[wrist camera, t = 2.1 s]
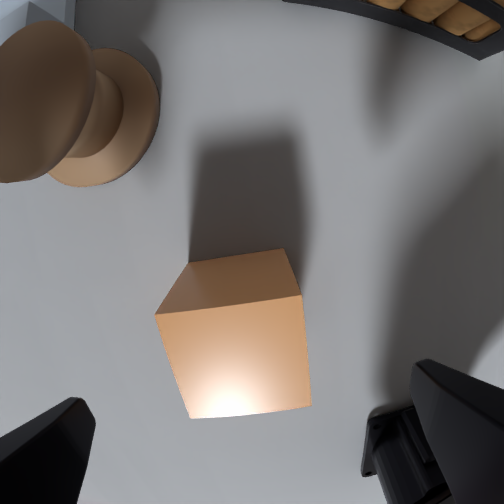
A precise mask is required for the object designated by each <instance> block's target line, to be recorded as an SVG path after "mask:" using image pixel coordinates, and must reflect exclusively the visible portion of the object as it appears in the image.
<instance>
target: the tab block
mask: <svg viewBox="0 0 504 504" xmlns="http://www.w3.org/2000/svg"><path fill="white" fill-rule="evenodd" d="M155 318H156V322H157V325H158V328H159V331H160V335H161V338H162V341H163V344H164V347H165V350H166V353H167V356H168V359H169V362H170V365H171V368H172V370H173V373H174V376H175V379H176V382H177V384H178V387H179V390H180V392H181V395H182V398H183V400H184V403H185V405H186V408H187V411H188V413H189V416H190V418H213V417H228V416H240V415H250V414H259V413H268V412H275V411H283V410H290V409H296V408H302V407H308V406H312V403H311V389H310V376H309V364H308V352H307V341H306V331H305V321H304V311H303V301H302V294H301V292H300V289H299V286H298V284H297V281H296V279H295V276H294V273H293V271H292V268H291V266H290V263H289V261H288V258H287V256H286V253H285V251H284V248H281V249H274V250H268V251H261V252H255V253H248V254H242V255H235V256H228V257H222V258H215V259H209V260H202V261H196V262H189V263H188V264H187V265H186V267H185V268H184V270H183V271H182V273H181V274H180V276H179V277H178V279H177V281H176V282H175V284H174V285H173V287H172V288H171V290H170V291H169V293H168V294H167V296H166V297H165V299H164V301H163V302H162V304H161V305H160V307H159V308H158V310H157V311H156V313H155Z"/></svg>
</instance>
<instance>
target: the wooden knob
mask: <svg viewBox="0 0 504 504" xmlns="http://www.w3.org/2000/svg"><path fill="white" fill-rule="evenodd" d="M159 114H160V100H159V94H158V89H157V87H156V84H155V81H154V80H153V78H152V76H151V74H150V73H149V72H148V70H147V69H146V68H145V67H144V66H142V65H141V64H140V63H139V62H138V61H137V60H136V59H135V58H133V57H132V56H130V55H129V54H127V53H125V52H123V51H120V50H117V49H112V48H99V49H93V50H91V48H90V46H89V44H88V43H87V41H86V40H85V39H84V38H83V37H82V36H81V35H80V34H78V33H77V32H75V31H74V30H72V29H71V28H69V27H68V26H66V25H64V24H63V23H61V22H57V21H52V20H45V21H39V22H35V23H32V24H30V25H27V26H25V27H23V28H22V29H20V30H18V31H17V32H16V33H14V34H13V35H11V36H10V37H9V38H8V39H7V40H6V41H5V42H4V43H3V44H2V45H1V46H0V183H11V182H19V181H26V180H32V179H35V178H38V177H40V176H42V175H44V174H46V173H48V174H49V175H50V176H51V177H53V178H54V179H56V180H57V181H59V182H61V183H63V184H65V185H69V186H74V187H88V186H95V185H100V184H105V183H108V182H111V181H114V180H116V179H118V178H119V177H121V176H123V175H124V174H126V173H127V172H128V171H129V170H131V169H132V168H133V167H134V166H135V165H136V164H137V163H138V162H139V161H140V159H141V158H142V157H143V155H144V154H145V153H146V151H147V149H148V148H149V146H150V144H151V142H152V140H153V137H154V135H155V132H156V129H157V126H158V121H159Z"/></svg>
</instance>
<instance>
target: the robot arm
mask: <svg viewBox="0 0 504 504" xmlns="http://www.w3.org/2000/svg"><path fill="white" fill-rule="evenodd" d="M410 394H411V397H412V400H413V402H414V406H411V407H408V408H405V409H401V410H398V411H395V412H391V413H388V414H384V415H381V416H377V417H374V418H372V419H371V420H370V421H369V422H368V424H367V431H366V439H365V446H364V453H363V460H362V466H361V474H362V476H363V477H369V476H372V475H376V474H377V475H378V478H379V481H380V483H381V486H382V489H383V492H384V495H385V498H386V501H387V504H504V389H501V388H499V387H496V386H494V385H491V384H489V383H486V382H484V381H481V380H479V379H476V378H474V377H471V376H469V375H467V374H464V373H462V372H459V371H457V370H454V369H452V368H450V367H447V366H445V365H442V364H440V363H438V362H435V361H433V360H430V359H424V360H421V361H418V362H416V363H414V365H413V368H412V375H411V381H410ZM95 426H96V422H95V418H94V416H93V414H92V413H91V411H90V409H89V407H88V406H87V404H86V402H85V400H83V399H82V398H78V397H70V398H68V399H66V400H64V401H63V402H61V403H59V404H58V405H56V406H54V407H53V408H51V409H49V410H48V411H46V412H44V413H42V414H41V415H39V416H37V417H36V418H34V419H32V420H30V421H29V422H27V423H25V424H23V425H22V426H20V427H18V428H16V429H15V430H13V431H11V432H9V433H8V434H6V435H4V436H2V437H0V504H77V501H78V497H79V494H80V490H81V487H82V483H83V480H84V476H85V473H86V469H87V465H88V461H89V456H90V450H91V445H92V440H93V436H94V431H95Z"/></svg>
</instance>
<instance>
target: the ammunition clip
mask: <svg viewBox="0 0 504 504" xmlns="http://www.w3.org/2000/svg"><path fill="white" fill-rule="evenodd" d="M282 1H284V2H290V3H297V4H304V5H311V6H317V7H322V8H328V9H333V10H338V11H342V12H347V13H351V14H355V15H359V16H363V17H367V18H371V19H375V20H378V21H382V22H385V23H388V24H391V25H395V26H398V27H401V28H404V29H407V30H409V31H412V32H415V33H418V34H420V35H423V36H426V37H428V38H431V39H433V40H436V41H438V42H441V43H443V44H445V45H448V46H450V47H452V48H454V49H456V50H459V51H461V52H463V53H465V54H467V55H469V56H471V57H473V58H475V59H477V60H482V59H484V58H487V57H489V56H491V55H494V54H496V53H499V52H501V51H504V0H282Z"/></svg>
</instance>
